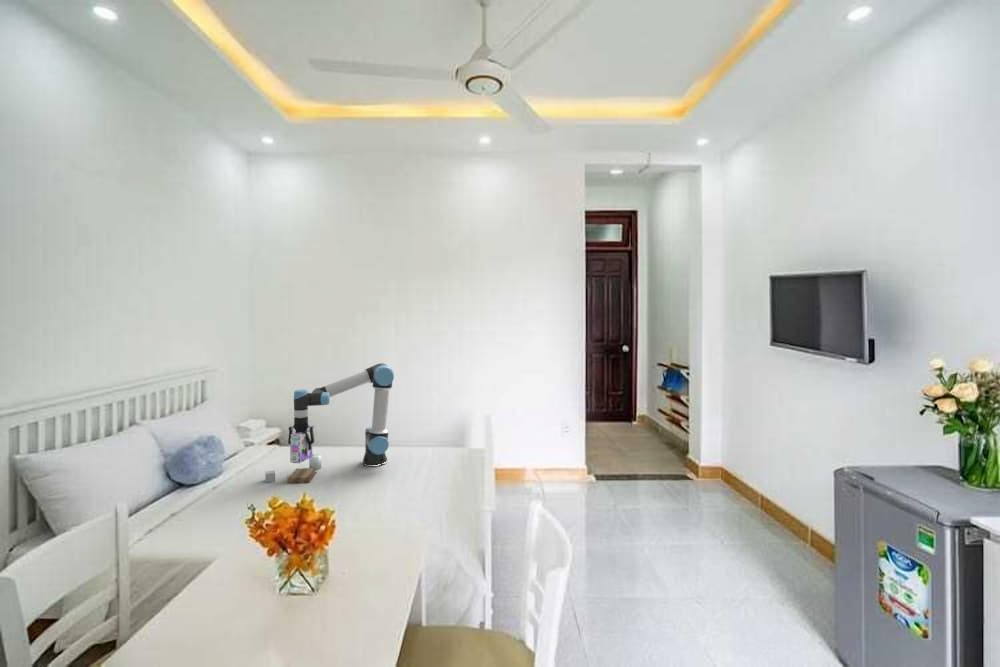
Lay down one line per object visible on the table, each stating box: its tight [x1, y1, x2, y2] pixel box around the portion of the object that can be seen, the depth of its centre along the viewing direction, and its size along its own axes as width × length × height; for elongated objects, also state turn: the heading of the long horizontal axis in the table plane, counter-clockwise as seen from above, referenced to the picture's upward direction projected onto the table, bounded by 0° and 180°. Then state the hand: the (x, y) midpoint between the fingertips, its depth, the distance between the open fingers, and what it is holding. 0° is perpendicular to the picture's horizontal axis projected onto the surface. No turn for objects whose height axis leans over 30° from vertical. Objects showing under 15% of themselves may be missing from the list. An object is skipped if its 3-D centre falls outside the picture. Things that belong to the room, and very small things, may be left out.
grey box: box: [264, 470, 276, 484], centre depth 293 cm, size 5×5×5 cm
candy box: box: [289, 429, 313, 464], centre depth 296 cm, size 14×6×16 cm, turn 169°
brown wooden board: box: [286, 467, 318, 484], centre depth 297 cm, size 12×17×3 cm
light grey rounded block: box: [308, 453, 322, 471], centre depth 314 cm, size 7×7×8 cm
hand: (301, 455), depth 296 cm, fingers closed on candy box, 7 cm apart
